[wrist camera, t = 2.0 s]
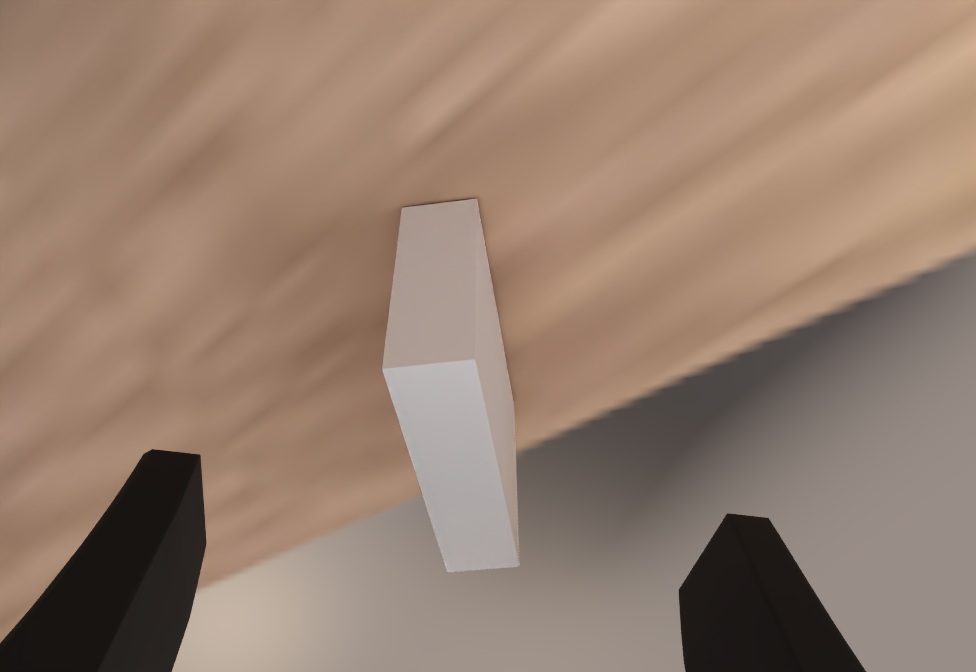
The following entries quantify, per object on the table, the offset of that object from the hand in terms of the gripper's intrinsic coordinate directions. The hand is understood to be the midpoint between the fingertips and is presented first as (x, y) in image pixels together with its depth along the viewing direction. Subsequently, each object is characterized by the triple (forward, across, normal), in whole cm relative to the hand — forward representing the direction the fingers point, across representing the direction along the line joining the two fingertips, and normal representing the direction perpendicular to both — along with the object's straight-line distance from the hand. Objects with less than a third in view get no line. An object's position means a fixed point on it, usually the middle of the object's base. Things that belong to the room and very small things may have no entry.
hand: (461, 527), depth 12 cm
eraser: (+5, 0, 0) cm, 5 cm away
